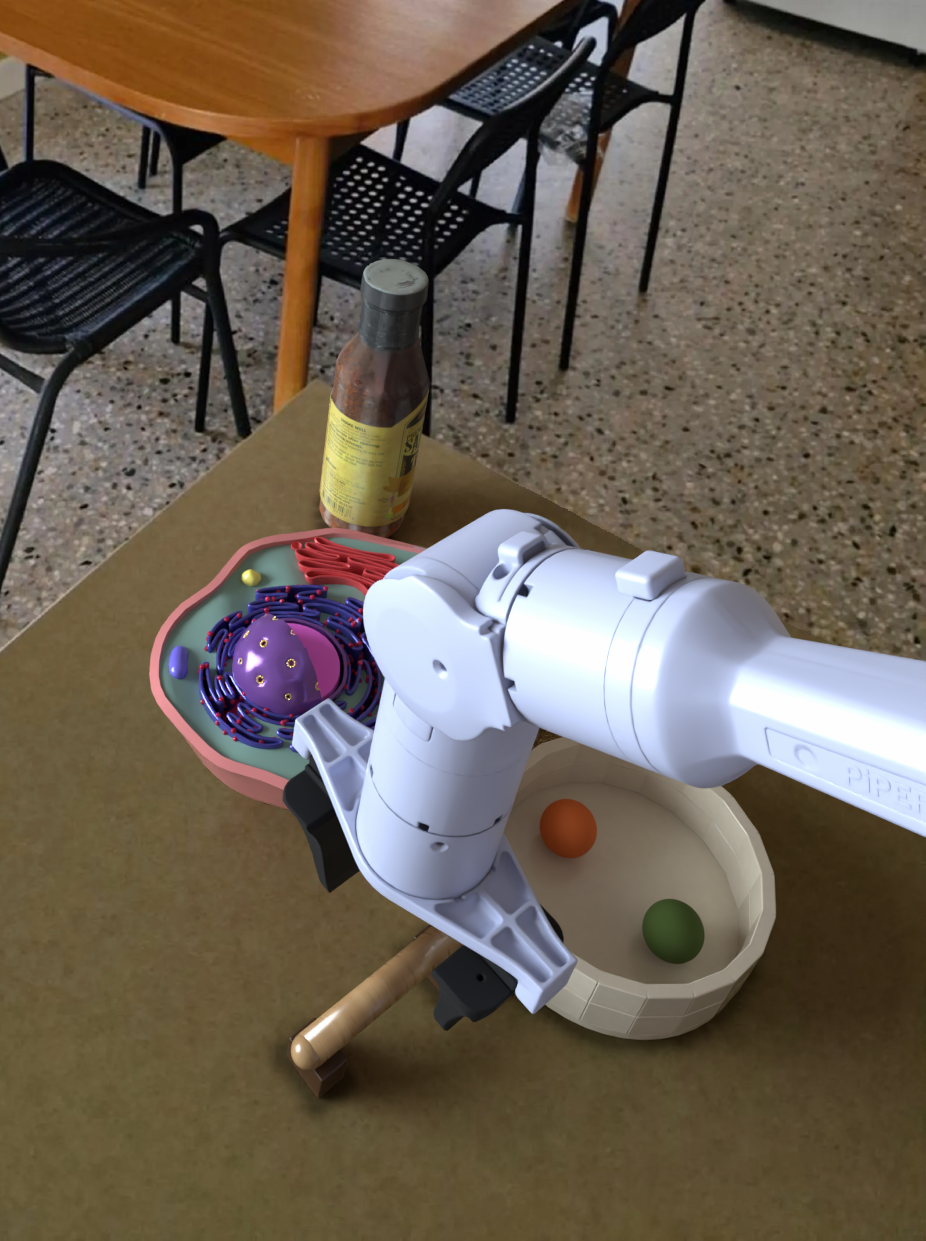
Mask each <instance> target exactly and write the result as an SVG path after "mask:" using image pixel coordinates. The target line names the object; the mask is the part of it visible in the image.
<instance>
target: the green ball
mask: <svg viewBox="0 0 926 1241" xmlns="http://www.w3.org/2000/svg"><path fill="white" fill-rule="evenodd" d="M642 931H643V937H644V940H645V942H646V944H647V946H648V948H649V949H650V950H651V951H652V953H653V954H654V955H656V956H657V957H658V958H660V959H661V960H663V961H665V962H668V963H672V964H682V963H686V962H689V961H691V960H692V959H694V958H695V957H696V956H697V955H698V954H699V952H700V951H701V949H702V947H703V944H704V938H705V934H704V927H703V924H702V921H701V919H700V917H699V915H698V914H697V913H696V911H695V910H694V909H693V908H692V907H690V906H689V905H688V904H686V903H684V902H682V901H679V900H676V899H663V900H660V901H658V902H656V903H654V904H653V905H652V906H650V908H649V909H648V910H647V912H646V913H645V916H644V918H643V924H642Z"/></svg>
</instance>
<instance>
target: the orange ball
mask: <svg viewBox="0 0 926 1241" xmlns="http://www.w3.org/2000/svg"><path fill="white" fill-rule="evenodd" d="M540 833H541V837H542V839H543V841H544V843H545V845H546V846H547V847H548V848H549V849H550V850H551V851H552V852H553V853H555V854H557V855H559V856H561V857H564V858H577V857H580V856H582V855H584V854H586V853H587V852H588V851H589V850H590V849H591V848H592V846H593V845H594V843H595V840H596V836H597V826H596V821H595V819H594V817H593V815H592V813H591V812H590V810H589V809H588V808H587V807H586V806H585V805H583V804H582V803H580V802H578V801H576V800H572V799H560V800H557V801H554V802H553V803H551V804H550V805H549V806H548V807H547V808H546V809H545V810H544V812H543V814H542V816H541V819H540Z"/></svg>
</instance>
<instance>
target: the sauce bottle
mask: <svg viewBox="0 0 926 1241" xmlns="http://www.w3.org/2000/svg"><path fill="white" fill-rule="evenodd" d="M428 291H429V276H428V275H427V273H426V271H424V270H423V269H422V268H420V267H419V266H417V265H416V264H414V263H411V262H408V261H406V260H403V259H396V258H388V259H385V258H384V259H379V260H376V261H374V262H372V263H370V264H369V265H366V267H365V268H364V270H363V272H362V277H361V284H360V297H361V299H362V300H361V309H360V317H359V320H357V332H356V334H355V335H353V336H351V338H350V339H349V340H348V341H347V342H346V343H345V345H344V346H343V347H342V348H341V350H340V352H339V354H338V356H337V358H336V361H335V367H334V379H333V386H332V389H331V391H330V396H329V405H328V406H329V407H328V413H327V414H328V415H327V424H326V431H325V441H324V448H323V458H322V467H321V476H320V484H319V498H320V502H319V512H320V515H321V519H322V520H323V521H324V523H325V524H326V525H327V526H328V527H329V528H342V529H349V530H355V531H359V532H363V533H367V534H371V535H375V536H379V537H383V538H387V539H388V538H389V537H390V536H392V535H393V534H395V533H396V532H397V531H398V529H399V528H400V526H402V523H403V520H405V514H406V512H407V510H408V508H409V505H410V500H411V495H412V490H413V489H412V488H413V483H414V478H415V473H416V466H417V460H418V457H419V450H420V443H421V440H422V434H423V427H424V422H425V414H426V410H427V405H428V404H427V403H428V398H429V392H430V386H431V382H430V378H429V374H428V369H427V366H426V361H425V358H424V354H423V349H422V346H421V342H420V324H421V316H422V315H423V314H422V313H423V306H424V304H425V303H426V302H427V299H428V293H429V292H428Z"/></svg>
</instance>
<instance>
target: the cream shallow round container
mask: <svg viewBox="0 0 926 1241" xmlns="http://www.w3.org/2000/svg"><path fill="white" fill-rule="evenodd" d="M560 799H572V800H576V801H578V802H580V803H582V804H583V805H585V806H586V807H587V808H588V809H589V810H590V812H591V813H592V815H593V817H594V819H595V821H596V826H597V836H596V840H595V843H594V845H593V846H592V848H591V849H590V850H589V851H588V852H587V853H586V854H584V855H582V856H580V857H577V858H564V857H561V856H559V855H557V854H555V853H553V852H552V851H551V850H550V849H549V848H548V847H547V846H546V845H545V843H544V841H543V839H542V837H541V833H540V819H541V816H542V814H543V812H544V810H545V809H546V808H547V807H548V806H549V805H550V804H551V803H553V802H554V801H557V800H560ZM504 834H505V836H506V838H507V840H508V842H509V844H510V846H511V848H512V850H513V852H514V854H515V856H516V858H517V860H518V862H519V864H520V866H521V868H522V870H523V872H524V874H525V876H526V878H527V880H528V882H529V884H530V886H531V888H532V890H533V892H534V894H535V896H536V898H537V900H538V902H539V903H540V904H541V905H542V906H543V907H544V908H545V910H546V911H547V912H548V913H549V914H550V915H551V916H552V917H553V918H554V919H555V920H556V921H557V923H558V924H559V925H560V927H561V929H562V931H563V936H564V945H565V946H566V947H567V948H568V949H569V951H570V952H571V953H572V954H573V955H574V956H575V957H576V959H577V960H578V962H577V964H576V966H575V968H574V970H573V972H572V974H571V977H570V979H569V981H568V983H567V985H566V986H565V987H563V988H562V989H561V990H560V991H559V992H558V993H557V994H556V995H555V996H554V997H553V998H552V999H551V1000H549V1001H548V1002H547V1003H546V1004H545V1005H544V1006H546V1007H547V1008H549V1009H550V1010H552V1011H553V1012H555V1013H557V1014H558V1015H560V1016H561V1017H563V1018H564V1019H567V1021H570V1022H572V1023H575V1024H577V1025H579V1026H580V1027H583V1028H585V1029H588V1030H590V1031H593V1032H597V1033H599V1034H602V1035H606V1036H610V1037H615V1038H619V1039H625V1040H639V1041H648V1040H649V1041H650V1040H663V1039H668V1038H673V1037H678V1036H680V1035H683V1034H686V1033H688V1032H692V1031H694V1030H696V1029H698V1028H700V1027H701V1026H703V1025H705V1024H706V1023H708V1022H709V1021H711V1020H712V1019H713V1018H714V1017H715V1016H717V1015H718V1014H719V1013H720V1012H721V1011H722V1010H724V1008H725V1007H726V1006H727V1004H728V1003H729V1002H730V1000H731V999H732V998H734V996H735V995H736V994H737V993H738V992H739V991H740V990H741V988H742V986H743V985H744V983H745V982H746V980H747V979H748V977H749V976H750V975H751V973H752V971H753V970H754V968H755V967H756V965H757V964H758V963H759V961H760V959H761V957H763V955H764V952H765V951H766V950H765V949H766V947H767V944H768V941H769V939H770V936H771V933H772V930H773V927H774V924H775V922H776V919H777V901H776V897H777V896H776V876H775V872H774V869H773V867H772V866H773V865H772V863H771V861H770V858H769V855H768V853H767V850H766V848H765V845H764V842H763V840H762V836H761V834H760V832H759V830H758V829H757V827H755V825H754V823H752V821H751V819H750V818H749V817H748V815H747V814H746V812H745V811H744V810H743V808H742V807H741V806H740V804H739V802H738V801H737V800H736V798H735V797H734V796H733V795H732V794H731V793H730V792H729V791H728V790H727V789H725V788H724V787H723V785H722V786H719V787H715V788H705V789H704V788H696V787H693V786H690V785H688V784H685V783H682V782H680V781H677V780H675V779H672V778H668V777H666V776H663V775H661V774H658V773H655V772H653V771H650V770H648V769H645V768H642V767H640V766H638V765H635V764H632V763H630V762H627V761H625V760H622V759H619V758H617V757H614V756H612V755H609V754H606V753H604V752H601V751H599V750H596V749H593V748H591V747H588V746H586V745H583V744H580V743H578V742H575V741H573V740H570V739H567V738H565V737H562V736H560V737H558V738H554V739H551V740H547V741H545V742H542V743H540V744H537V746H535V747H534V748H532V750H531V753H530V756H529V759H528V762H527V765H526V768H525V770H524V773H523V776H522V779H521V782H520V785H519V788H518V791H517V794H516V798H515V801H514V804H513V807H512V809H511V812H510V815H509V818H508V821H507V824H506V827H505V830H504ZM663 899H676V900H679V901H682V902H684V903H686V904H688V905H689V906H690V907H692V908H693V909H694V910H695V911H696V913H697V914H698V915H699V917H700V919H701V921H702V924H703V927H704V934H705V938H704V944H703V947H702V949H701V951H700V952H699V954H698V955H697V956H696V957H695V958H694V959H692V960H691V961H689V962H686V963H682V964H672V963H668V962H665V961H663V960H661V959H660V958H658V957H657V956H656V955H654V954H653V953H652V951H651V950H650V949H649V948H648V946H647V944H646V942H645V940H644V937H643V931H642V924H643V918H644V916H645V913H646V912H647V910H648V909H649V908H650V906H652V905H653V904H654V903H656V902H658V901H660V900H663Z"/></svg>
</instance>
